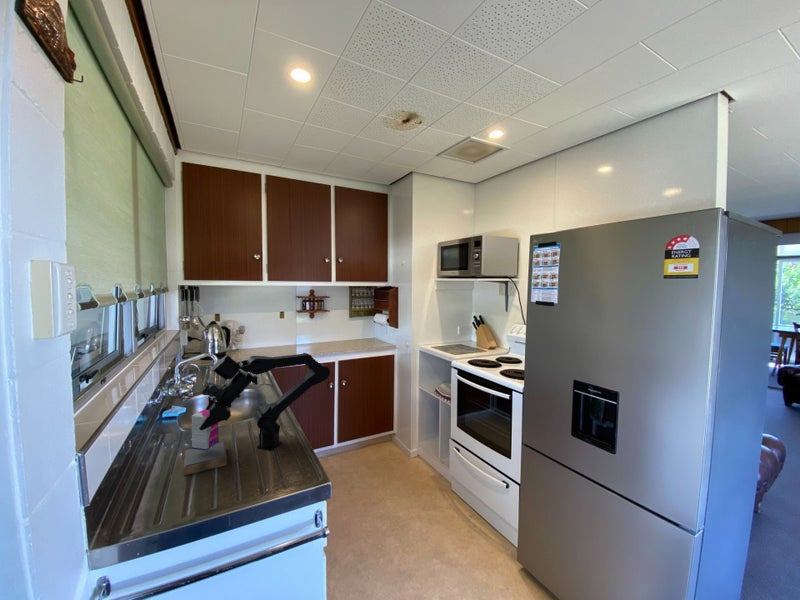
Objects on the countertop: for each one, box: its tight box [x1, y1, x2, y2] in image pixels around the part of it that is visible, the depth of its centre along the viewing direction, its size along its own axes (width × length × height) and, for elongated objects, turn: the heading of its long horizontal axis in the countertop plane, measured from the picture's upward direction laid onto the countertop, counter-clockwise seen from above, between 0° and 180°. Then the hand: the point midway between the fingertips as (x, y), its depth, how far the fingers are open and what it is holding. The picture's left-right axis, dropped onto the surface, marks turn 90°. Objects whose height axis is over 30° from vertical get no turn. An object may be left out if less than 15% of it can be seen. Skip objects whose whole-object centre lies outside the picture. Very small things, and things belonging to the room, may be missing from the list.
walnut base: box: [183, 441, 228, 476], centre depth 113 cm, size 12×12×3 cm
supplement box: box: [191, 409, 220, 451], centre depth 112 cm, size 6×6×12 cm
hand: (200, 424), depth 111 cm, fingers closed on supplement box, 8 cm apart
